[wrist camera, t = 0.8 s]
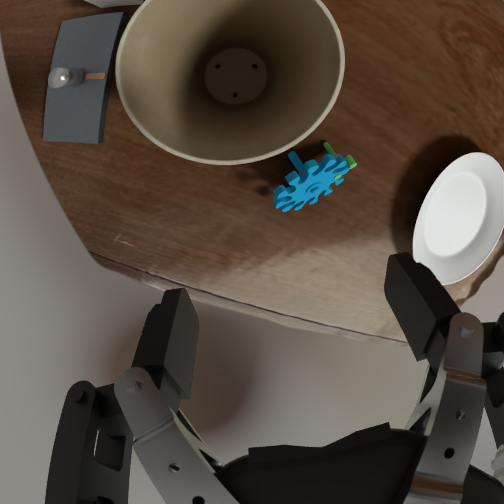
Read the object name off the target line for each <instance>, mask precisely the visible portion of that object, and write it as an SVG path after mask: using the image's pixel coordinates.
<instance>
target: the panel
mask: <svg viewBox="0 0 504 504" xmlns="http://www.w3.org/2000/svg"><path fill="white" fill-rule="evenodd" d="M127 16H128V14H126V13H124V12H116V13H107V14H99V15H93V16H86V17H81V18H76V19H71V20H66V21H62V24H61V27H60V30H59V34H58V38H57V42H56V46H55V50H54V55H53V59H52V64H51V70H50V74H49V77H48V88H47V96H46V105H45V116H44V132H43V141H56V142H79V143H94V144H99V143H101V142H103V136H104V126H105V117H106V110H107V103H108V96H109V90H110V84H111V79H112V74H113V69H114V64H115V60H116V55H117V51H118V47H119V43H120V39H121V36H122V32H123V29H124V25H125V22H126V19H127Z"/></svg>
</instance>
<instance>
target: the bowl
mask: <svg viewBox="0 0 504 504" xmlns="http://www.w3.org/2000/svg"><path fill="white" fill-rule="evenodd" d="M503 228H504V172H503V170H502V168H501V166H500V165H499V163H498V162H497V161H496V160H495V159H494V158H492V157H491V156H489V155H487V154H484V153H479V152H475V153H469V154H466V155H463V156H461V157H459V158H458V159H456V160H455V161H453V162H452V163H451V164H450V165H449V166H448V167H446V169H445V170H444V171H443V172H442V173H441V174H440V175H439V177H438V178H437V179H436V181H435V182H434V183H433V185H432V187H431V188H430V190H429V192H428V193H427V195H426V197H425V199H424V202H423V204H422V206H421V209H420V212H419V214H418V218H417V221H416V225H415V229H414V236H413V257H414V260H415V261H416V262H417V263H418V262H420V263H422V264H423V265H425V266H426V267H428V268H429V269H430V270H431V271H432V272H433V273H434V275H435V276H436V277H437V279H438V280H439V281H440V283H441V284H442V285H446V284H451V283H455V282H457V281H460V280H462V279H464V278H465V277H467V276H468V275H470V274H471V273H472V272H474V271H475V270H476V269H477V268H478V267H479V266H480V265H481V264H482V263H483V262H484V261H485V260H486V259H487V257H488V256H489V255H490V253H491V252H492V250H493V249H494V247H495V245H496V244H497V242H498V240H499V238H500V235H501V233H502V230H503Z"/></svg>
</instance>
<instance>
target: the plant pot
mask: <svg viewBox="0 0 504 504" xmlns="http://www.w3.org/2000/svg"><path fill="white" fill-rule="evenodd" d="M216 65H219V66H220V68H216V67H215V66H216ZM253 65H257V67H256V68H253V67H252V66H253ZM344 67H345V54H344V46H343V41H342V37H341V34H340V31H339V29H338V27H337V24H336V22H335V20H334V19H333V17H332V15H331V13H330V12H329V10H328V9H327V8H326V6H325V5H324V4H323V3H322V2H321V1H320V0H145V2H144V3H143V4H142V5H141V6H140V7H139V8H138V9H137V11H136V12H135V13H134V15H133V16H132V18H131V19H130V21H129V23H128V25H127V27H126V29H125V31H124V33H123V35H122V38H121V40H120V43H119V47H118V51H117V56H116V66H115V73H116V83H117V89H118V92H119V96H120V99H121V101H122V104H123V106H124V108H125V110H126V112H127V114H128V116H129V117H130V119H131V120H132V122H133V123H134V124H135V125H136V126H137V128H138V129H139V130H140V131H141V132H142V133H143V134H144V135H145V136H146V137H147V138H148V139H150V140H151V141H152V142H153V143H155V144H156V145H158V146H159V147H161V148H163V149H164V150H166V151H168V152H170V153H172V154H174V155H177V156H179V157H182V158H185V159H188V160H192V161H196V162H201V163H207V164H215V165H236V164H244V163H250V162H255V161H259V160H263V159H266V158H269V157H272V156H274V155H277V154H279V153H281V152H284V151H286V150H287V149H289V148H291V147H293V146H294V145H296V144H297V143H299V142H300V141H302V140H303V139H304V138H305V137H307V136H308V135H309V134H310V133H311V132H312V131H313V130H314V129H315V128H316V127H317V126H318V125H319V124H320V123H321V122H322V121H323V119H324V118H325V117H326V115H327V114H328V113H329V112H330V110H331V108H332V107H333V105H334V103H335V100H336V98H337V96H338V94H339V91H340V88H341V84H342V80H343V75H344ZM235 93H237V96H236V97H234V94H235Z"/></svg>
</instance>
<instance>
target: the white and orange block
mask: <svg viewBox="0 0 504 504" xmlns="http://www.w3.org/2000/svg"><path fill="white" fill-rule="evenodd" d="M85 1H87V2H89V3H92V4H94V5H96V6H98V7H100V8H108V7H116V6H126V5H141V4H142V2H143V0H85Z"/></svg>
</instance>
